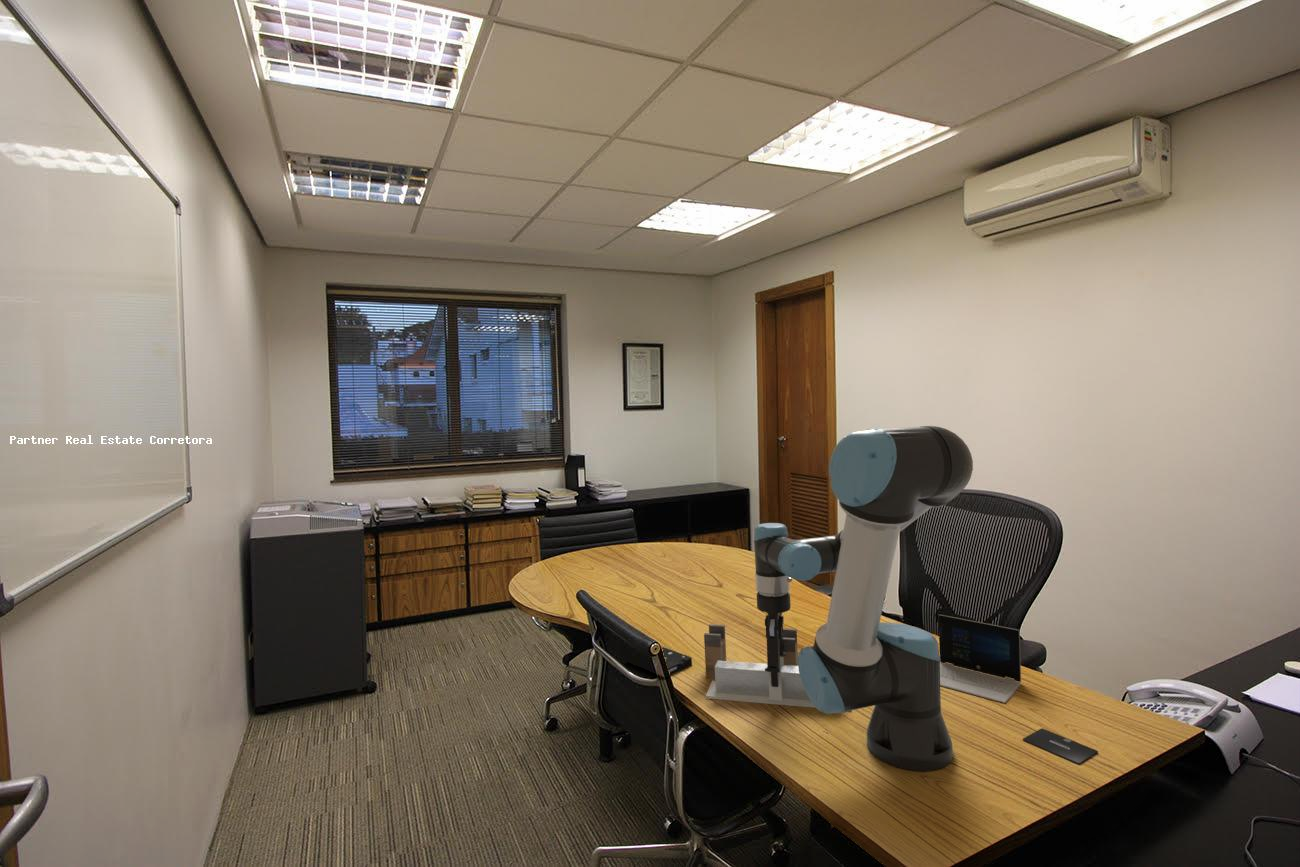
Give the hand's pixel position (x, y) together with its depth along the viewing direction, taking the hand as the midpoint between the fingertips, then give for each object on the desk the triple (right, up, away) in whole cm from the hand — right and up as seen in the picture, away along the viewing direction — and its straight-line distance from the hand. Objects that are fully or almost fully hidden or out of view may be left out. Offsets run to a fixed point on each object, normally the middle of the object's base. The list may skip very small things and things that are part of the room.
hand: (777, 691), depth 140 cm
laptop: (+46, 0, +3) cm, 46 cm away
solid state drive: (+48, -1, -24) cm, 54 cm away
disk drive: (-27, -3, +22) cm, 35 cm away
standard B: (-12, -2, +15) cm, 19 cm away
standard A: (+5, -1, +10) cm, 11 cm away
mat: (0, -1, +1) cm, 2 cm away
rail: (0, -1, +1) cm, 1 cm away
